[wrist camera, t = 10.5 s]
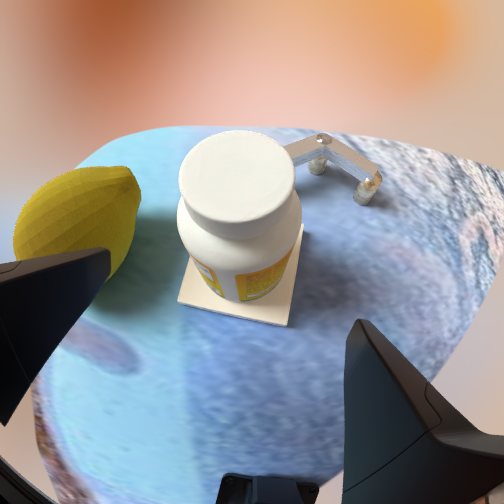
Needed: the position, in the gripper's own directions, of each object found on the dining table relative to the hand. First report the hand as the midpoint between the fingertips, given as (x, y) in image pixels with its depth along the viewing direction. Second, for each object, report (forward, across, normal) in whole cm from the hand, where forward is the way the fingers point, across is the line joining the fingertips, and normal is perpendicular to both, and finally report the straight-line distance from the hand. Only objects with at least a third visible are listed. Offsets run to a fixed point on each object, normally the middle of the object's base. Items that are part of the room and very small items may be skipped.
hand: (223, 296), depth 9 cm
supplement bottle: (+9, 0, +3) cm, 9 cm away
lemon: (+8, +11, +5) cm, 15 cm away
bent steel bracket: (+15, -3, -2) cm, 15 cm away
